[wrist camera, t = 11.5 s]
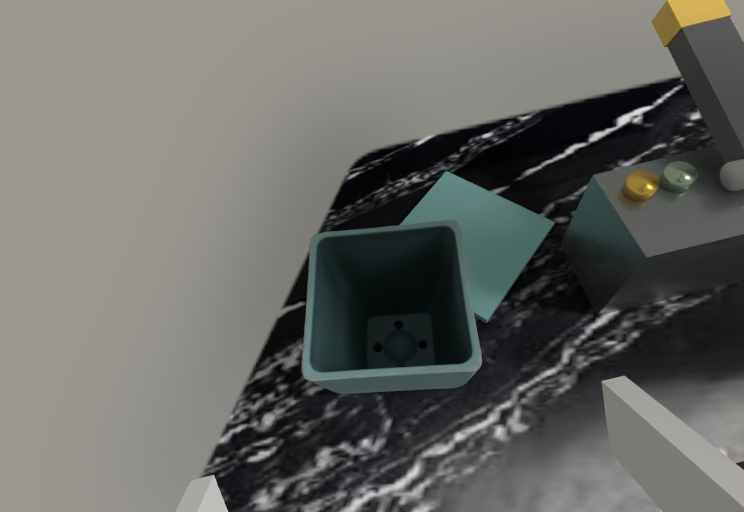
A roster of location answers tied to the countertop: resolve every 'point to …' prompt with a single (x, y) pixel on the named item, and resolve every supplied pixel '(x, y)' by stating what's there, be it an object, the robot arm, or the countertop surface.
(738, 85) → the lever
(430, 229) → the flower pot
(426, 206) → the pad
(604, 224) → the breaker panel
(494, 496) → the countertop surface
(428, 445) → the countertop surface
